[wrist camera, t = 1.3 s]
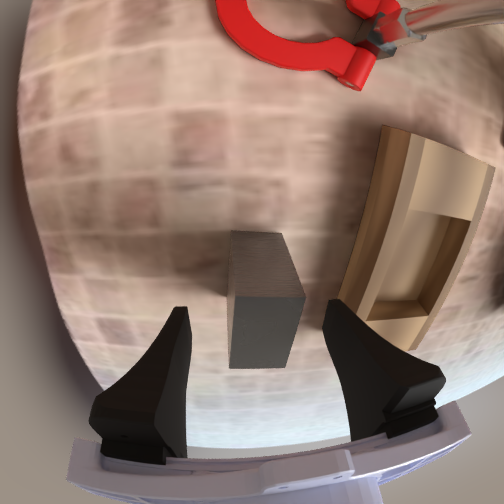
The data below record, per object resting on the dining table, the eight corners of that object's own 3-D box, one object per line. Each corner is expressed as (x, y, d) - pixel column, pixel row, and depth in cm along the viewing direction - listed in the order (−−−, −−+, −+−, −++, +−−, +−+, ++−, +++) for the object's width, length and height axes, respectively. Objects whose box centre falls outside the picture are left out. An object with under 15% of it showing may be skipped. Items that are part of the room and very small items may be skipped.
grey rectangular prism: (281, 233, 17) (305, 297, 12) (270, 298, 19) (285, 367, 14) (231, 230, 17) (234, 296, 11) (226, 297, 19) (229, 368, 14)
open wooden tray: (467, 155, 15) (495, 167, 12) (401, 326, 23) (415, 349, 20) (382, 124, 14) (411, 132, 11) (324, 332, 22) (334, 360, 19)
